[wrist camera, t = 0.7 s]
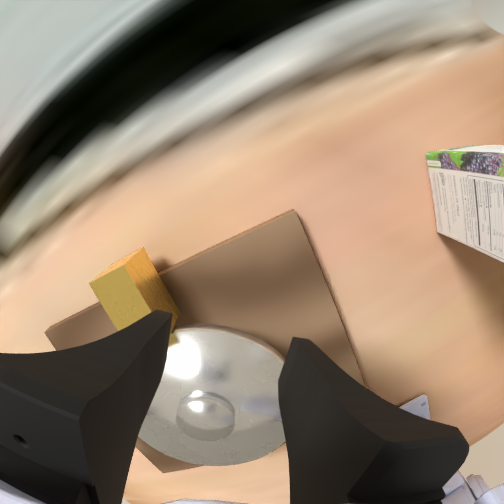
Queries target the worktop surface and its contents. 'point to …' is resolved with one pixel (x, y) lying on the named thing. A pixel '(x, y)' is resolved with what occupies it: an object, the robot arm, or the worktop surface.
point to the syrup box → (470, 196)
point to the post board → (240, 301)
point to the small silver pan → (199, 376)
